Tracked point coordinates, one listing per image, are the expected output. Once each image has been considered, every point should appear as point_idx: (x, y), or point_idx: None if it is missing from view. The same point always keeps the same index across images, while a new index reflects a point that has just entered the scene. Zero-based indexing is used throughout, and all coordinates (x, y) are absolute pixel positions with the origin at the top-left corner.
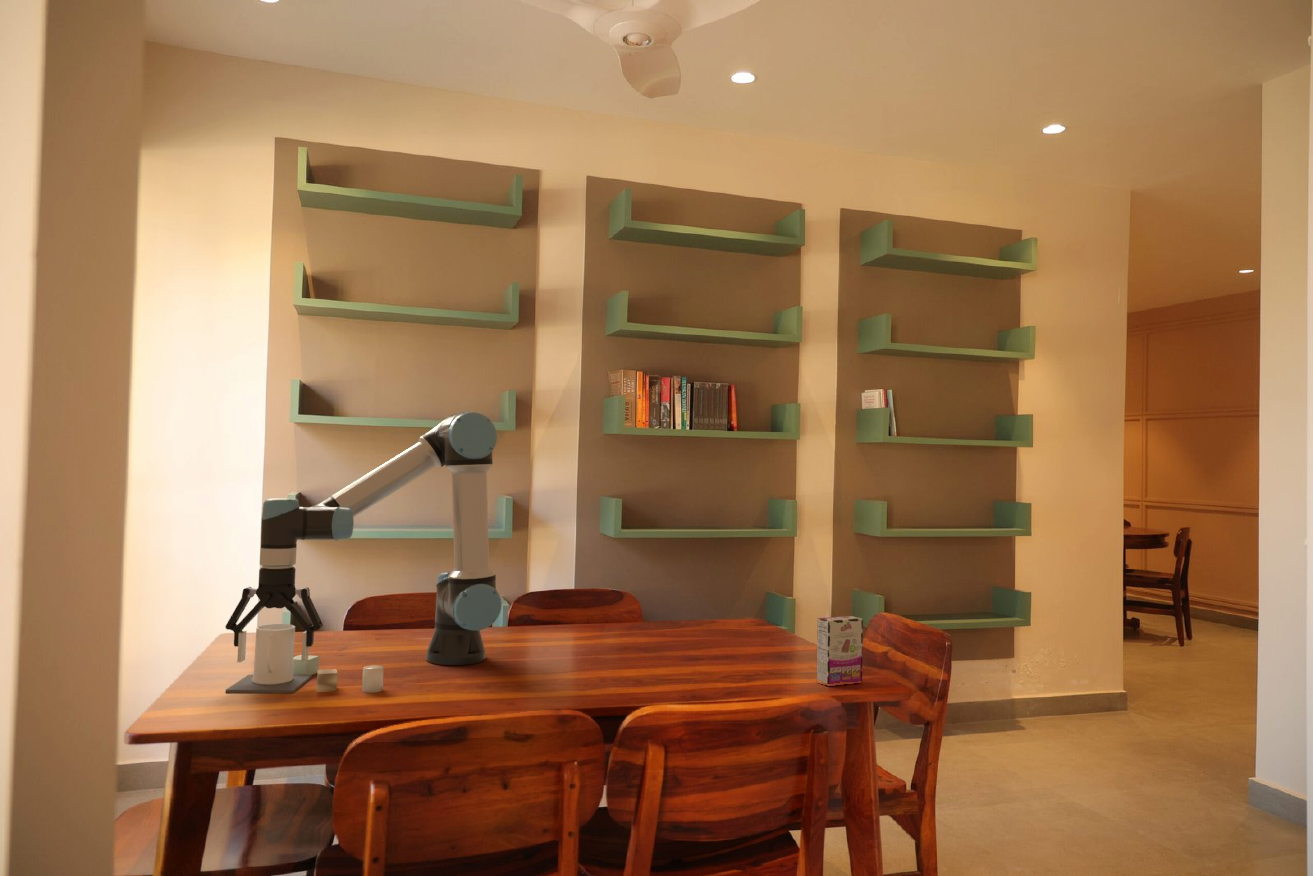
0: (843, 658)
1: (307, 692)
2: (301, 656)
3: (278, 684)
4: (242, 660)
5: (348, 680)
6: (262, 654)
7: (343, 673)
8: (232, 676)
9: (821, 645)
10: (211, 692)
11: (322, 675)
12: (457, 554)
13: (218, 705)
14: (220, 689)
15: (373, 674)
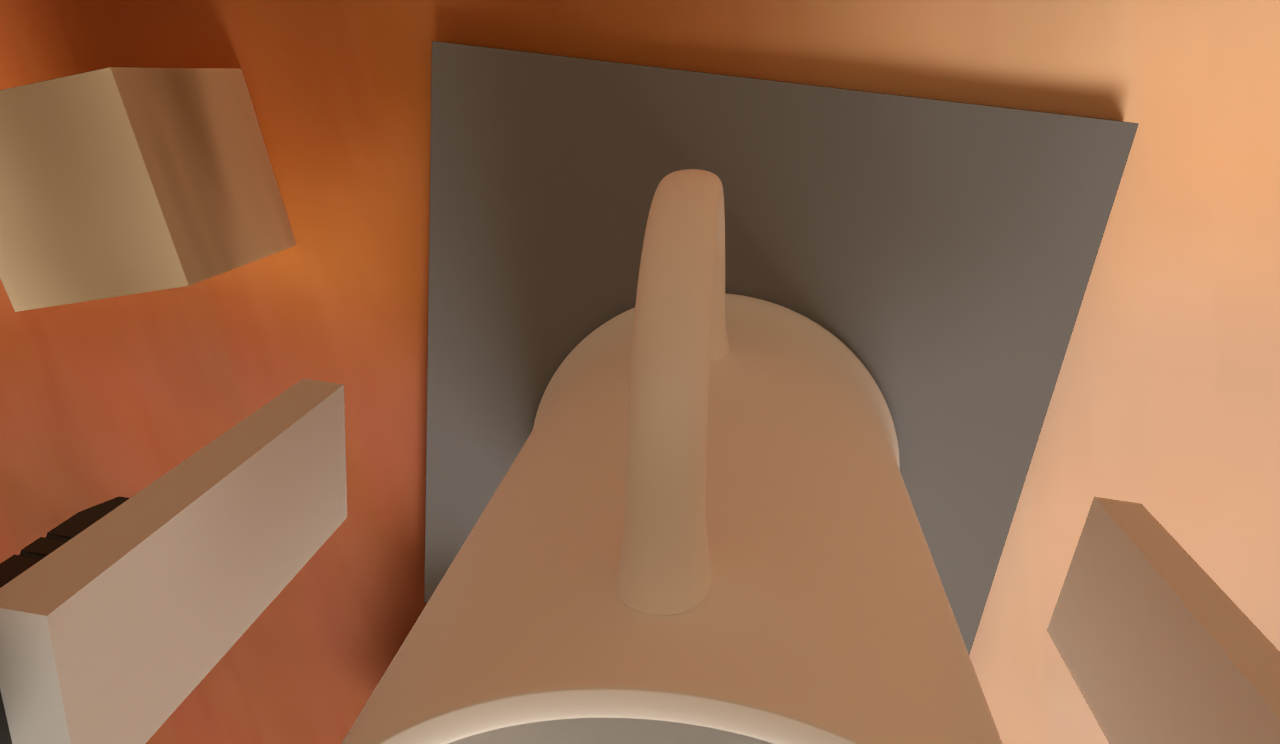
0: None
1: (322, 64)
2: (305, 413)
3: (629, 301)
4: (1081, 553)
5: (122, 466)
6: (824, 458)
7: (234, 682)
8: (1090, 731)
9: None
10: (1274, 159)
11: (80, 77)
12: None
13: None
14: (1181, 279)
15: None
